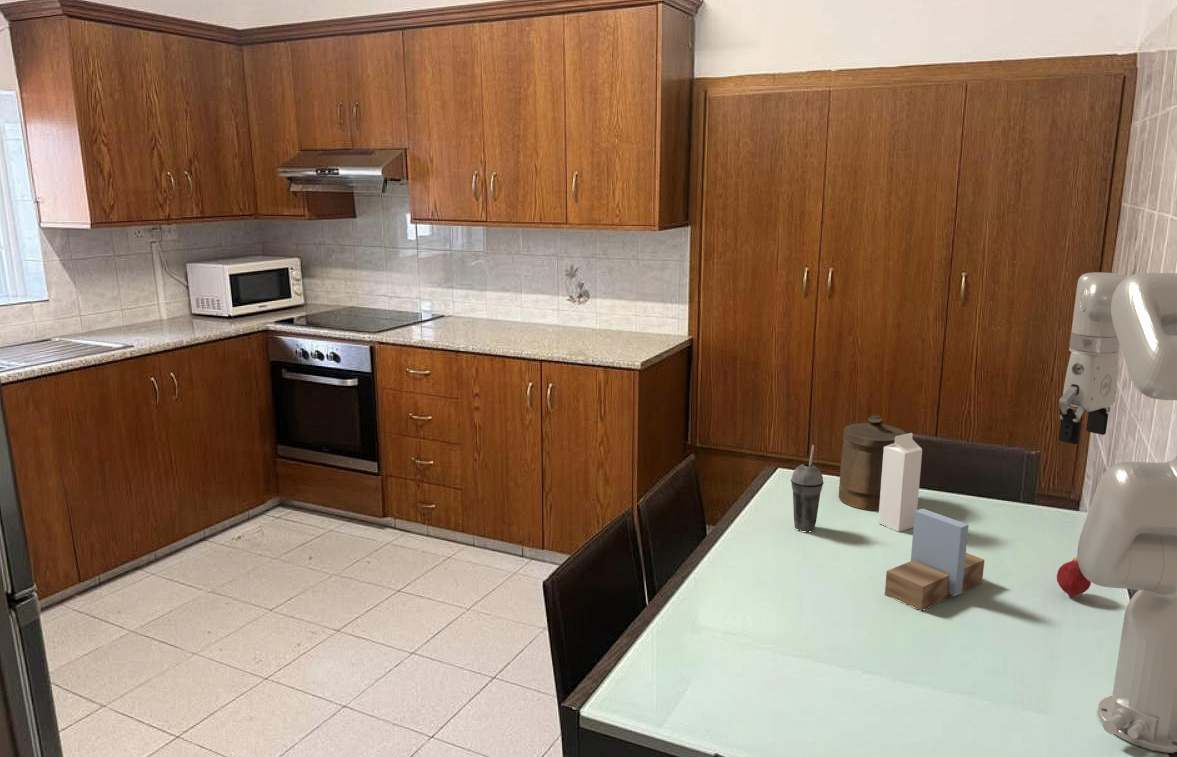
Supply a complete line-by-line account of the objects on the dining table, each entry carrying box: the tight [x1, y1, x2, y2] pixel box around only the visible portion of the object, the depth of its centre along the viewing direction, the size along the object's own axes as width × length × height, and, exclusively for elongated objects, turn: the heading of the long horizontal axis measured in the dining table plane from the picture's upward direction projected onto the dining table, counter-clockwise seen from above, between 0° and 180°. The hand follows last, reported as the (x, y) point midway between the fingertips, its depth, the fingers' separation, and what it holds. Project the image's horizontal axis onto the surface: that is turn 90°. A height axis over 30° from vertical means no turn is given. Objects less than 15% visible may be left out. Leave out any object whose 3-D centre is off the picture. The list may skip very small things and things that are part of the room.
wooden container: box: [838, 414, 907, 512], centre depth 213 cm, size 15×15×22 cm
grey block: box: [910, 508, 969, 597], centre depth 167 cm, size 2×10×14 cm, turn 34°
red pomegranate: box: [1056, 556, 1092, 597], centre depth 164 cm, size 6×6×8 cm
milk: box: [877, 432, 923, 533], centre depth 197 cm, size 6×6×22 cm
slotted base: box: [884, 552, 985, 611], centre depth 168 cm, size 20×8×5 cm, turn 124°
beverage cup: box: [790, 444, 825, 533], centre depth 195 cm, size 7×7×20 cm
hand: (1082, 437), depth 154 cm, fingers open, 9 cm apart
